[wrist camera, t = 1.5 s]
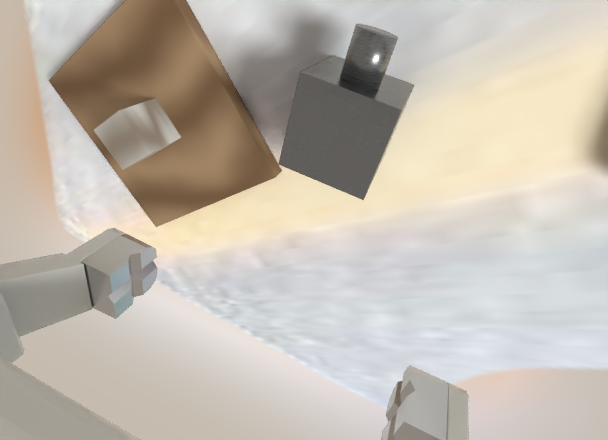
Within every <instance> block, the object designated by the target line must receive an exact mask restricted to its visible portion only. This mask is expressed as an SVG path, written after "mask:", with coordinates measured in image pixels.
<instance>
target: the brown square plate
mask: <svg viewBox="0 0 608 440" xmlns="http://www.w3.org/2000/svg"><path fill="white" fill-rule="evenodd" d="M49 82H50V83H51V84H52V86H53V87H54V89H55V90H56V91H57V93H58V94H59V95H60V97H61V98H62V99H63V101H64V102H65V104H66V105H67V106H68V108H69V109H70V110H71V112H72V113H73V114H74V116H75V117H76V119H77V120H78V121H79V123H80V124H81V125H82V127H83V128H84V129H85V131H86V132H87V134H88V135H89V136H90V138H91V139H92V140H93V142H94V143H95V144H96V146H97V147H98V149H99V150H100V151H101V153H102V154H103V155H104V157H105V158H106V159H107V161H108V162H109V164H110V165H111V166H112V168H113V169H114V170H115V172H116V173H117V174H118V176H119V177H120V179H121V180H122V181H123V183H124V184H125V185H126V187H127V188H128V189H129V191H130V192H131V194H132V195H133V196H134V198H135V199H136V200H137V202H138V203H139V204H140V206H141V207H142V209H143V210H144V211H145V213H146V214H147V215H148V217H149V218H150V219H151V221H152V222H153V224H154V225H155V226H156V227H157V226H160V225H162V224H165V223H167V222H169V221H172V220H174V219H177V218H179V217H181V216H184V215H186V214H189V213H191V212H193V211H196V210H198V209H201V208H203V207H205V206H208V205H210V204H213V203H215V202H217V201H220V200H222V199H225V198H227V197H229V196H232V195H234V194H237V193H239V192H241V191H244V190H246V189H249V188H251V187H253V186H256V185H258V184H261V183H263V182H265V181H268V180H270V179H273V178H275V177H276V176H277V175H278V174H279V173H280V172H281V171H282V170H281V169H280V167H279V165H278V163H277V161H276V160H275V158H274V156H273V154H272V153H271V151H270V149H269V147H268V145H267V144H266V142H265V140H264V138H263V137H262V135H261V133H260V131H259V129H258V128H257V126H256V124H255V122H254V120H253V119H252V117H251V115H250V113H249V112H248V110H247V108H246V106H245V104H244V103H243V101H242V99H241V97H240V96H239V94H238V92H237V90H236V88H235V87H234V85H233V83H232V81H231V79H230V78H229V76H228V74H227V72H226V71H225V69H224V67H223V65H222V63H221V62H220V60H219V58H218V56H217V54H216V53H215V51H214V49H213V47H212V46H211V44H210V42H209V40H208V38H207V37H206V35H205V33H204V31H203V30H202V28H201V26H200V24H199V22H198V21H197V19H196V17H195V15H194V13H193V12H192V10H191V8H190V6H189V5H188V3H187V1H186V0H126V1H125V2H124V3H123V4H122V5H121V6H120V7H119V8H118V9H117V10H116V11H115V12H114V13H113V14H112V15H111V16H110V17H109V18H108V19H107V20H106V21H105V22H104V24H103V25H102V26H101V27H100V28H99V29H98V30H97V31H96V32H95V33H94V34H93V35H92V36H91V37H90V38H89V39H88V40H87V41H86V42H85V43H84V44H83V45H82V46H81V48H80V49H79V50H78V51H77V52H76V53H75V54H74V55H73V56H72V57H71V58H70V59H69V60H68V61H67V62H66V63H65V64H64V65H63V66H62V67H61V68H60V69H59V70H58V71H57V73H56V74H55V75H54V76H53V77H52V78H51V79H50V80H49Z"/></svg>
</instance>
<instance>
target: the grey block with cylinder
mask: <svg viewBox="0 0 608 440" xmlns="http://www.w3.org/2000/svg"><path fill="white" fill-rule="evenodd" d="M397 40H398V37H397V36H395V35H393V34H391V33H389V32H387V31H384V30H381V29H378V28H375V27H372V26H368V25H363V24H356V26H355V29H354V32H353V36H352V39H351V42H350V46H349V49H348V52H347V55H346V59H345V60H344V59H342V58H339V57H336V56H331V57H329V58H327V59H325V60H323V61H321V62H319V63H317V64H315V65H313V66H311V67H309V68H307V69H305V70H303V71H301V72H300V76H299V80H298V84H297V88H296V93H295V97H294V101H293V105H292V109H291V114H290V118H289V122H288V126H287V131H286V135H285V139H284V143H283V147H282V152H281V156H280V160H279V165H281V166H284V167H286V168H289V169H291V170H293V171H296V172H298V173H300V174H303V175H305V176H308V177H310V178H312V179H315V180H317V181H319V182H322V183H324V184H327V185H329V186H331V187H334V188H336V189H338V190H341V191H343V192H346V193H348V194H350V195H353V196H355V197H357V198H360V199H362V200H364V198H365V196H366V193H367V191H368V189H369V187H370V185H371V183H372V180H373V178H374V176H375V174H376V172H377V170H378V168H379V165H380V163H381V161H382V159H383V156H384V154H385V152H386V149H387V147H388V145H389V143H390V140H391V138H392V136H393V133H394V131H395V129H396V126H397V124H398V122H399V119H400V117H401V115H402V113H403V110H404V108H405V106H406V103H407V101H408V99H409V96H410V94H411V92H412V89H413V87H414V85H413V84H410V83H407V82H405V81H402V80H399V79H396V78H394V77H391V76H388V75H385V71H386V69H387V66H388V63H389V61H390V58H391V55H392V53H393V50H394V48H395V45H396V42H397Z"/></svg>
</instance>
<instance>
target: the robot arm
mask: <svg viewBox="0 0 608 440" xmlns="http://www.w3.org/2000/svg"><path fill="white" fill-rule="evenodd" d="M156 257H157V255H156V249H155V248H153V247H152V246H150V245H148V244H146V243H144V242H142V241H140V240H138V239H136V238H134V237H132V236H130V235H128V234H125V233H123V232H121V231H119V230H117V229H115V228H112V229H108V230H106V231H104V232H103V233H101V234H99V235H98V236H96V237H94V238H93V239H91V240H89V241H88V242H86V243H85V244H83V245H81V246H80V247H78V248H76V249H75V250H73V251H72V252H70V253H68V254H67V255H65V254H63V253H60V254H55V255H49V256H44V257H39V258H33V259H28V260H23V261H17V262H12V263H7V264H2V265H0V440H140V439H138V438H137V437H135V436H133V435H132V434H130V433H128V432H127V431H125V430H123V429H121V428H120V427H118V426H116V425H115V424H113V423H111V422H110V421H108V420H106V419H105V418H103V417H101V416H100V415H98V414H96V413H94V412H93V411H91V410H89V409H88V408H86V407H84V406H82V405H81V404H79V403H78V402H76V401H74V400H72V399H71V398H69V397H67V396H66V395H64V394H62V393H61V392H59V391H57V390H56V389H54V388H52V387H51V386H49V385H47V384H45V383H44V382H42V381H40V380H39V379H37V378H35V377H34V376H32V375H30V374H29V373H27V372H25V371H23V370H22V369H20V368H18V367H17V366H15V365H13V364H12V362H14V361H15V360H16V359H18V358H19V357H20V356H21V355H23V352H24V347H23V345H22V342H21V340H20V336H22V335H25V334H28V333H30V332H33V331H36V330H38V329H41V328H44V327H46V326H49V325H52V324H54V323H57V322H59V321H62V320H65V319H67V318H70V317H73V316H75V315H78V314H81V313H83V312H86V311H88V310H91V309H92V308H95V309H97V310H99V311H101V312H103V313H105V314H107V315H109V316H111V317H113V318H115V319H116V318H117V317H118V316H119V315H120V314H122V313H123V312H124V311H125V310H126V309H127V308H129V307H130V306H131V305H132V304H133V298H134V297H136V296H140V295H143V294H144V293H145V292H146V291H147V290H149V289H150V288H151V286H152V284H153V283H154V281H155V279H156V276H157V267H156V265H155V263H154V261H153V260H154V259H155V258H156ZM386 416H387V419H388V424H387V425H386V427H385V428H384V430H383V432H382V438H381V440H469V396H468V393H467V391H465V390H463V389H460V388H458V387H456V386H454V385H452V384H450V383H447V382H446V381H444V380H442V379H439V378H437V377H435V376H433V375H430V374H428V373H426V372H424V371H422V370H419V369H417V368H415V367H413V366H409V367H407V369H406V370H405V372H404V375H403V381H400V382H398V383H397V384H396V386H395V388H394V389H393V392H392V394H391V397H390V400H389V403H388V407H387V412H386Z"/></svg>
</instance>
